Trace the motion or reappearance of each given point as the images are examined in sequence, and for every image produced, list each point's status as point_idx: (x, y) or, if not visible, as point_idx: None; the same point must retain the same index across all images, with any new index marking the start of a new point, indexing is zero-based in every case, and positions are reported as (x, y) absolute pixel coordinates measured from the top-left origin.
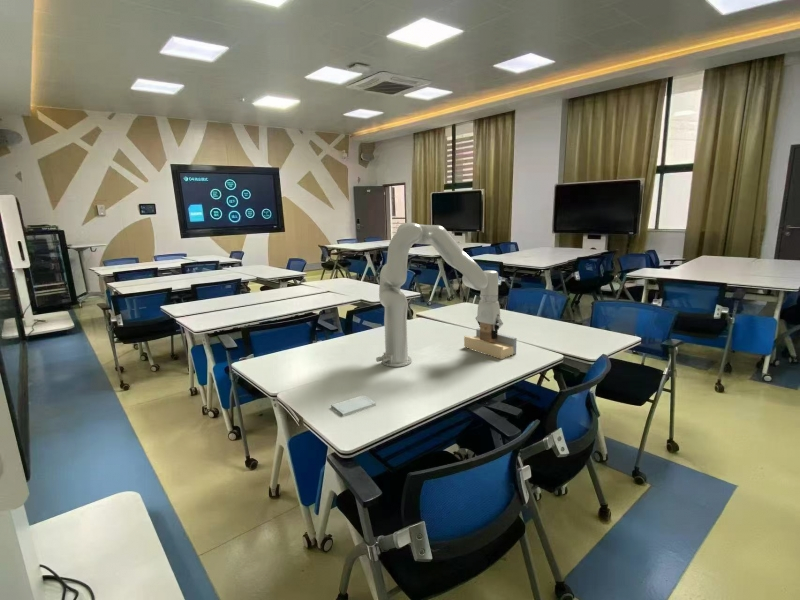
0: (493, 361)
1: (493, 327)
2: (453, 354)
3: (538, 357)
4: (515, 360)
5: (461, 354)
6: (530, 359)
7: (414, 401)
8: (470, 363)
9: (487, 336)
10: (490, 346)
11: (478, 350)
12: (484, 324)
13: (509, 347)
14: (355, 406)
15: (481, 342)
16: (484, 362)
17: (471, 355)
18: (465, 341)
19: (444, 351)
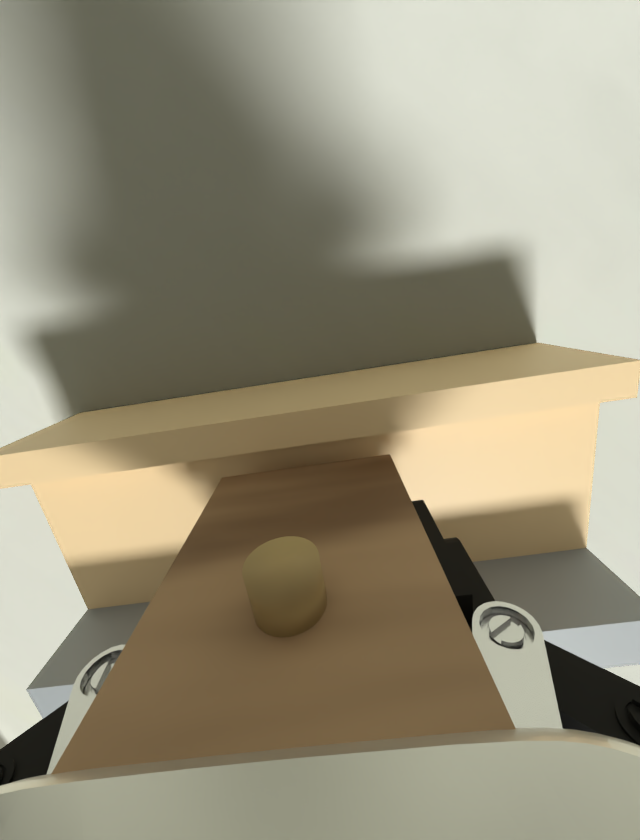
0: (54, 319)
1: (81, 720)
2: (441, 69)
3: (23, 643)
4: (16, 488)
5: (385, 164)
6: (2, 582)
7: None
8: (81, 48)
9: (251, 511)
10: (157, 423)
11: (343, 375)
12: (305, 696)
13: (73, 565)
14: None
15: (299, 407)
16: (57, 221)
17: (298, 244)
18: (564, 353)
19: (601, 33)
